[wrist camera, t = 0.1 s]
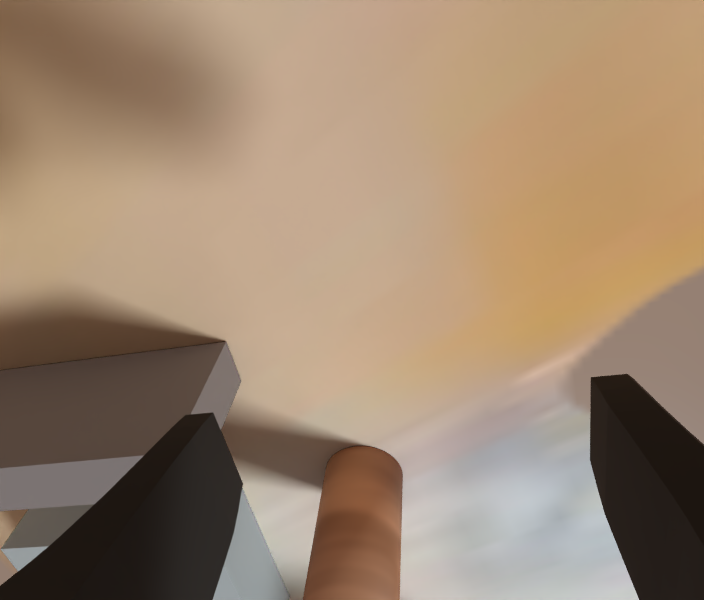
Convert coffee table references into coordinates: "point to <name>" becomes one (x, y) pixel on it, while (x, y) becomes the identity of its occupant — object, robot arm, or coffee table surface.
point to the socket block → (237, 574)
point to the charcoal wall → (100, 419)
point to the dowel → (357, 528)
